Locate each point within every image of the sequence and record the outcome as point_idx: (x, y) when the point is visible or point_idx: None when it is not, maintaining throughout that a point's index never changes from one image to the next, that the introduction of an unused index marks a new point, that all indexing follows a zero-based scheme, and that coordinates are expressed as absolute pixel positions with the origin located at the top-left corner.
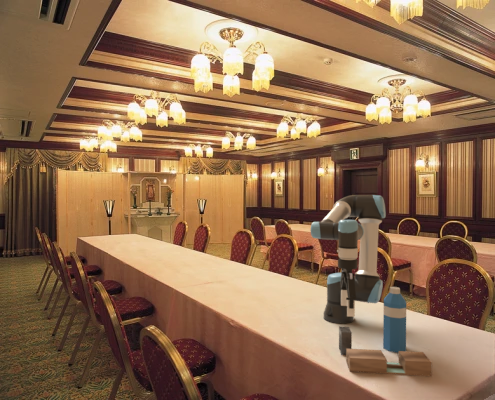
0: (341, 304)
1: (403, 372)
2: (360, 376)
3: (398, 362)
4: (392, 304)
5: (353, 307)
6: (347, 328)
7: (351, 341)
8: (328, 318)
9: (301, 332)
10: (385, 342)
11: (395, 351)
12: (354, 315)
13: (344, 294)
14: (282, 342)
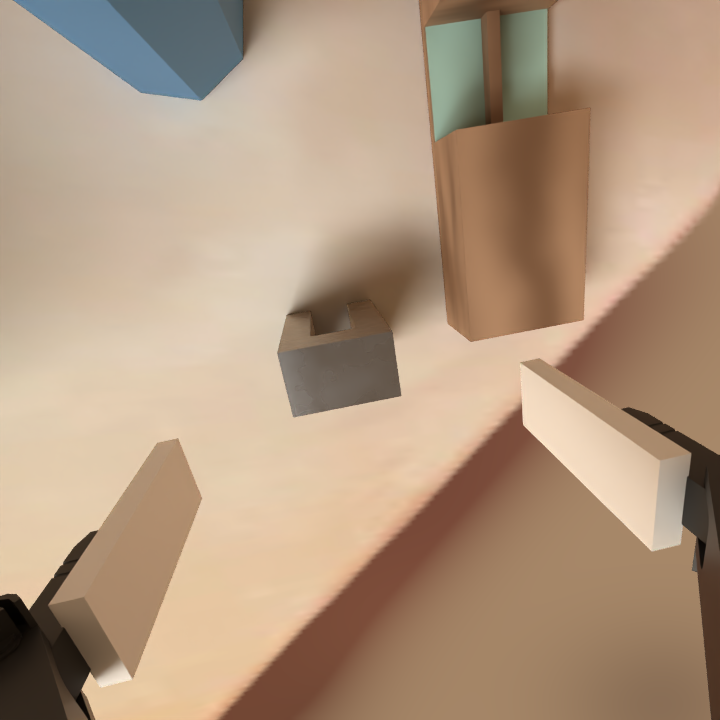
0: (198, 504)
1: (542, 19)
2: None
3: (425, 26)
4: None
5: (648, 415)
6: (315, 361)
7: (382, 317)
8: None
9: None
10: (204, 72)
11: (242, 14)
12: (545, 363)
13: (139, 576)
14: (318, 588)
